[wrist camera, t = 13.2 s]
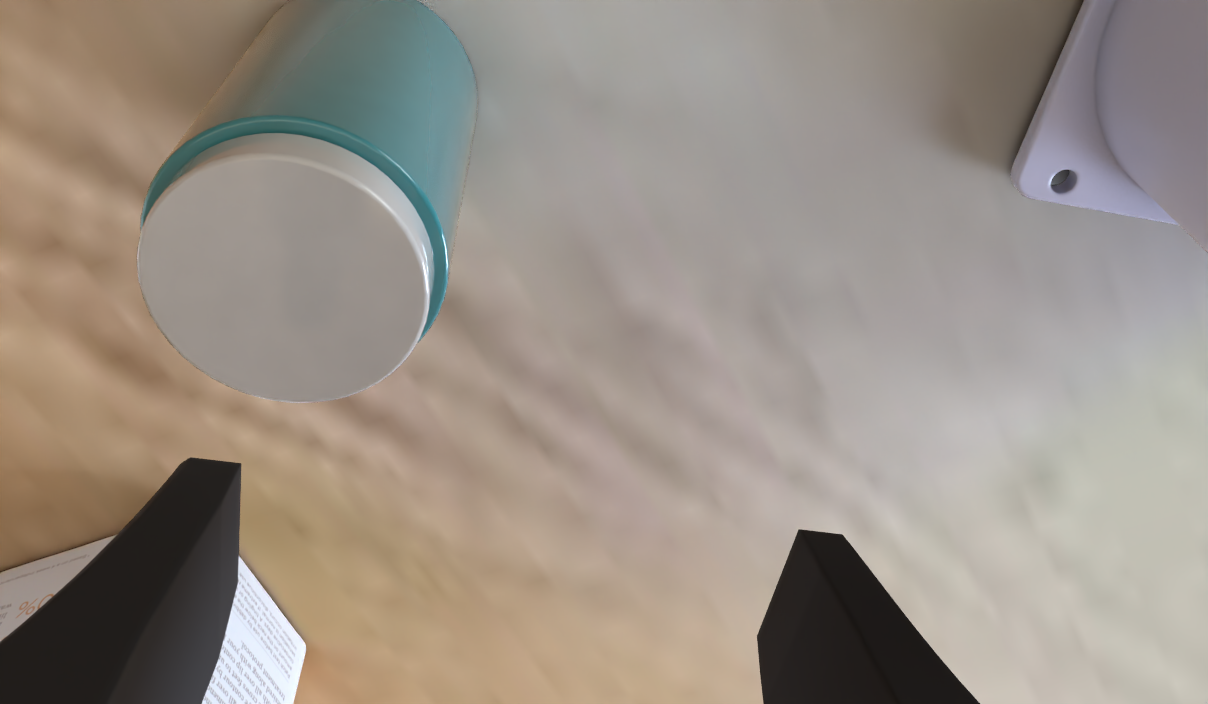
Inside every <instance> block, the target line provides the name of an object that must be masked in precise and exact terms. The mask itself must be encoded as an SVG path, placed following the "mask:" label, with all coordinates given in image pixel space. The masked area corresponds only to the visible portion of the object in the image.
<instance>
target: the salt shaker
mask: <svg viewBox="0 0 1208 704" xmlns="http://www.w3.org/2000/svg"><path fill="white" fill-rule="evenodd" d="M477 108H478V97H477V86H476V81H475V76H474V73H473V70H472V67H471V64H470V61H469V59H468V57H467V55H466V53H465V51H464V49H463V47H462V45H461V44H460V42H459V41H458V39H457V37H456V36H455V34H454V33H453V32H452V31H451V30H450V28H449V27H448V26H447V25H446V24H445V23H444V22H443V21H442V20H441V19H440V18H439V17H438V16H437V15H436V14H435V13H434V12H433V11H431V10H430V9H429V8H427V7H426V6H424V5H423V4H421V3H420V2H419V1H417V0H290V1H288V2H287V3H286V4H285V5H283V6H282V7H281V8H280V9H279V10H278V11H277V12H276V13H275V14H274V15H273V16H272V17H271V19H270V20H269V21H268V22H267V23H266V25H265V26H264V27H263V29H262V30H261V32H260V33H259V34H258V36H257V37H256V38H255V40H254V41H253V42H252V44H251V45H250V46H249V48H248V49H247V50H246V52H245V53H244V55H243V56H242V57H241V59H240V60H239V61H238V63H237V64H236V65H235V67H234V68H233V69H232V71H231V72H230V73H229V75H228V76H227V78H226V79H225V80H224V82H223V83H222V84H221V86H220V87H219V88H218V90H217V91H216V92H215V94H214V95H213V96H212V98H211V99H210V101H209V102H208V103H207V105H206V106H205V107H204V109H203V110H202V111H201V113H200V114H199V115H198V117H197V118H196V119H195V121H194V122H193V124H192V125H191V126H190V128H189V129H188V130H187V132H186V133H185V134H184V136H183V137H182V138H181V140H180V141H179V142H178V144H177V145H176V147H175V148H174V149H173V151H172V152H171V153H170V155H169V156H168V157H167V159H166V160H165V161H164V163H163V164H162V166H161V167H160V168H159V170H158V172H157V173H156V175H155V177H154V178H153V180H152V182H151V184H150V186H149V189H148V191H147V194H146V197H145V199H144V204H143V209H142V213H141V224H140V237H139V242H138V247H137V270H138V279H139V284H140V288H141V291H142V295H143V299H144V301H145V303H146V306H147V308H148V310H149V313H150V315H151V317H152V318H153V320H154V322H155V323H156V325H157V327H158V328H159V330H160V331H161V333H162V334H163V335H164V336H165V338H166V339H167V340H168V342H169V343H170V344H171V345H172V346H173V347H174V348H175V349H176V350H177V351H178V352H179V353H180V354H181V355H182V356H183V357H184V358H185V359H186V360H188V361H189V362H190V363H191V364H192V365H194V366H195V367H196V368H197V369H199V370H200V371H202V372H203V373H205V374H206V375H208V376H209V377H211V378H213V379H215V380H217V381H219V382H220V383H222V384H224V385H226V386H228V387H231V388H233V389H236V390H238V391H241V392H243V393H246V394H249V395H253V396H256V397H260V398H264V399H269V400H274V401H280V402H291V403H316V402H324V401H332V400H336V399H340V398H344V397H348V396H351V395H353V394H356V393H359V392H361V391H364V390H366V389H368V388H370V387H372V386H373V385H375V384H377V383H379V382H380V381H382V380H383V379H384V378H386V377H387V376H389V375H390V374H392V373H393V372H394V371H395V370H396V369H397V368H398V367H399V366H400V365H401V364H402V363H403V362H404V361H405V360H406V359H407V357H408V356H409V355H410V354H411V352H412V351H413V349H414V348H415V346H416V344H417V343H418V342H419V341H420V340H421V339H422V338H423V337H424V335H425V334H426V333H427V332H428V330H429V329H430V328H431V326H432V324H433V323H434V321H435V319H436V317H437V316H438V314H439V311H440V309H441V306H442V304H443V301H444V298H445V294H446V289H447V285H448V280H449V274H450V268H451V262H452V257H453V251H454V245H455V239H456V234H457V228H458V222H459V216H460V211H461V205H462V199H463V194H464V188H465V182H466V176H467V171H468V165H469V159H470V153H471V148H472V142H473V136H474V130H475V125H476V119H477Z"/></svg>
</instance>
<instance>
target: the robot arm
mask: <svg viewBox="0 0 1208 704" xmlns="http://www.w3.org/2000/svg"><path fill="white" fill-rule="evenodd" d="M1062 170H1070V171H1069V176H1068V177H1067V178H1066V180H1065V181H1064V182H1062V183H1060V184H1058V185H1051V180H1052V178H1053V177H1054V176H1055V174H1056V173H1058V172H1060V171H1062ZM1010 176H1011V180H1012V183H1013V185H1014V186H1015V187H1016V188H1017V190H1018V191H1019V192H1020V193H1021V194H1022V195H1023V196H1025V197H1028V198H1030V199H1036V200H1041V201H1047V202H1053V203H1058V204H1064V205H1069V206H1075V207H1081V208H1086V209H1092V210H1098V211H1103V212H1109V213H1114V214H1120V215H1126V216H1131V217H1137V218H1142V219H1148V220H1154V221H1159V222H1165V223H1170V224H1176V225H1180V226H1181V227H1182V228H1183V229H1184V230H1185V231H1186V232H1187V233H1188V234H1189V235H1190V236H1191V237H1192V238H1193V239H1194V240H1195V241H1196V242H1197V243H1198V244H1199V245H1200V246H1201V247H1202V248H1203V249H1204V250H1205V251H1206V252H1207V253H1208V0H1084V2H1083V4H1082V6H1081V9H1080V11H1079V13H1078V15H1077V18H1076V20H1075V22H1074V25H1073V27H1072V29H1071V32H1070V34H1069V36H1068V39H1067V41H1066V43H1065V46H1064V48H1063V50H1062V52H1061V55H1060V57H1059V59H1058V62H1057V64H1056V66H1055V69H1054V71H1053V73H1052V76H1051V78H1050V80H1049V82H1048V85H1047V87H1046V89H1045V92H1044V94H1043V96H1042V99H1041V101H1040V103H1039V106H1038V108H1037V110H1036V112H1035V115H1034V117H1033V119H1032V122H1031V124H1030V126H1029V129H1028V131H1027V133H1026V136H1025V138H1024V140H1023V142H1022V145H1021V147H1020V149H1019V152H1018V154H1017V156H1016V159H1015V161H1014V163H1013V166H1012V170H1011V174H1010ZM240 491H241V463H233V462H224V461H216V460H207V459H199V458H189V459H187V460H186V461H184V462H183V463H181V464H180V465H179V466H178V468H177V469H176V470H175V471H174V472H173V474H172V475H171V476H170V477H169V478H168V480H167V481H166V482H165V483H164V484H163V485H162V487H161V488H160V489H159V490H158V491H157V492H156V493H155V495H154V496H153V497H152V498H151V499H150V500H149V501H148V502H147V504H146V505H145V506H144V507H143V508H142V509H141V510H140V511H139V512H138V513H137V514H136V515H135V517H134V518H133V519H132V520H131V521H130V522H129V523H128V524H127V525H126V526H125V527H124V528H123V529H122V530H121V531H120V532H119V533H118V534H117V535H116V536H115V537H114V538H113V539H112V540H111V541H110V542H109V543H108V544H107V545H106V546H105V547H104V548H103V549H102V550H101V551H100V552H99V553H98V554H97V555H96V556H95V557H94V558H93V559H92V560H91V561H90V562H89V563H88V564H87V565H86V566H85V567H84V568H83V569H82V570H81V571H80V572H79V573H78V574H77V575H76V576H75V577H74V578H73V579H72V580H71V581H70V582H68V583H67V584H66V585H65V586H64V587H63V588H62V589H61V590H59V591H58V592H57V593H56V594H55V595H54V596H53V597H52V598H50V599H49V600H48V601H47V602H46V603H45V604H44V605H43V606H42V607H40V608H39V609H38V610H37V611H36V612H35V613H34V614H33V615H31V616H30V617H29V618H28V619H27V620H26V621H25V622H23V623H22V624H21V625H20V626H19V627H17V628H16V629H15V630H14V631H13V632H11V633H10V634H9V635H8V636H7V637H5V638H4V639H3V640H2V641H0V704H202V701H203V699H204V696H205V694H206V691H207V688H208V686H209V683H210V680H211V678H212V675H213V672H214V670H215V667H216V664H217V662H218V659H219V656H220V652H221V648H222V644H223V640H224V637H225V633H226V629H227V625H228V621H229V617H230V613H231V609H232V605H233V601H234V597H235V593H236V589H237V585H238V562H239V526H240ZM757 641H758V652H759V664H760V675H761V684H762V693H763V702H764V704H980V703H979V702H978V701H977V700H976V699H975V698H974V697H973V695H972V694H971V693H970V692H969V691H968V690H967V689H966V688H965V687H964V686H963V684H962V683H961V682H960V681H959V680H958V679H957V678H956V676H955V675H954V674H953V673H952V672H951V671H950V669H949V668H948V667H947V666H946V665H945V664H944V662H943V661H942V660H941V659H940V658H939V656H938V655H937V654H936V653H935V652H934V650H933V649H932V648H931V647H930V646H929V644H928V643H927V642H926V641H925V639H924V638H923V637H922V636H921V634H920V633H919V632H918V631H917V630H916V628H915V627H914V626H913V624H912V623H911V622H910V621H909V619H908V618H907V617H906V616H905V614H904V613H903V612H902V611H901V609H900V608H899V607H898V605H897V604H896V603H895V602H894V600H893V599H892V598H891V596H890V595H889V594H888V592H887V591H886V590H885V589H884V587H883V586H882V585H881V583H880V582H879V581H878V579H877V578H876V577H875V576H874V574H873V573H872V572H871V570H870V569H869V568H868V566H867V565H866V564H865V563H864V561H863V560H862V559H861V557H860V556H859V555H858V553H857V552H856V551H855V550H854V548H853V547H852V546H851V545H850V543H849V542H848V541H847V540H846V538H845V537H844V536H843V535H842V534H833V533H825V532H816V531H808V530H798V533H797V535H796V538H795V541H794V543H793V546H792V548H791V551H790V553H789V556H788V558H787V561H786V564H785V566H784V569H783V571H782V574H781V576H780V579H779V581H778V584H777V587H776V589H775V592H774V594H773V597H772V599H771V602H770V605H769V607H768V610H767V612H766V615H765V617H764V620H763V622H762V625H761V628H760V630H759V633H758V635H757Z"/></svg>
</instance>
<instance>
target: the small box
mask: <svg viewBox="0 0 1208 704" xmlns="http://www.w3.org/2000/svg"><path fill="white" fill-rule="evenodd" d="M115 536H116V535H115ZM115 536H111V537H108V538H105V539H102V540H99V541H96V542H93V543H90V544H87V545H84V546H81V547H78V548H75V549H71V550H68V551H65V552H62V553H59V554H56V555H53V556H49V557H46V558H43V559H40V560H37V561H34V562H31V563H28V564H25V565H22V566H19V567H16V568H13V569H10V570H6V571H4V572H1V573H0V641H2V640H3V639H4V638H5V637H7V636H8V635H9V634H10V633H11V632H13V631H14V630H15V629H16V628H17V627H19V626H20V625H21V624H22V623H23V622H25V621H26V620H27V619H28V618H29V617H30V616H31V615H33V614H34V613H35V612H36V611H37V610H38V609H39V608H40V607H42V606H43V605H44V604H45V603H46V602H47V601H48V600H49V599H50V598H52V597H53V596H54V595H55V594H56V593H57V592H58V591H59V590H61V589H62V588H63V587H64V586H65V585H66V584H67V583H68V582H70V581H71V580H72V579H73V578H74V577H75V576H76V575H77V574H78V573H79V572H80V571H81V570H82V569H83V568H84V567H85V566H86V565H87V564H88V563H89V562H90V561H91V560H92V559H93V558H94V557H95V556H96V555H97V554H98V553H99V552H100V551H101V550H102V549H103V548H104V547H105V546H106V545H107V544H108V543H109V542H110V541H111V540H112V539H113V538H114V537H115ZM305 652H306V644H305V643H304V641H303V640H302V638H301V637H300V636H299V635H298V633H297V632H296V631H295V629H294V628H293V627H292V626H291V624H290V623H289V622H288V620H287V619H286V618H285V616H284V615H283V614H282V612H281V611H280V610H279V608H278V607H277V606H276V604H275V603H274V601H273V600H272V599H271V597H270V596H269V595H268V593H267V592H266V591H265V590H264V588H263V587H262V586H261V584H260V583H259V582H258V580H257V579H256V578H255V576H254V575H253V574H252V572H251V571H250V570H249V568H248V567H247V566H246V564H245V563H244V562H243V560H242V559H241V558H240V556H239V562H238V585H237V589H236V593H235V597H234V601H233V605H232V609H231V613H230V617H229V621H228V625H227V629H226V633H225V637H224V640H223V644H222V648H221V652H220V656H219V659H218V662H217V664H216V667H215V670H214V672H213V675H212V678H211V680H210V683H209V686H208V688H207V691H206V694H205V696H204V699H203V701H202V704H293V702H294V698H295V694H296V690H297V686H298V681H299V677H300V673H301V669H302V665H303V661H304V657H305Z"/></svg>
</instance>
